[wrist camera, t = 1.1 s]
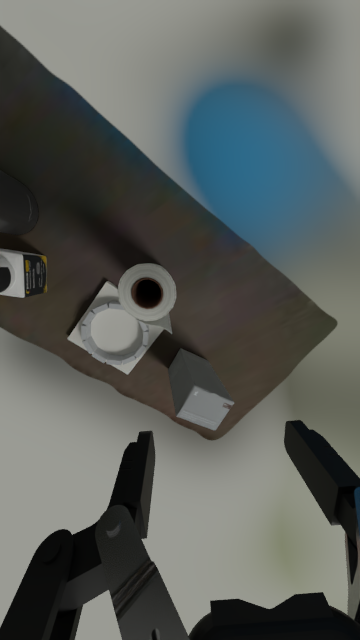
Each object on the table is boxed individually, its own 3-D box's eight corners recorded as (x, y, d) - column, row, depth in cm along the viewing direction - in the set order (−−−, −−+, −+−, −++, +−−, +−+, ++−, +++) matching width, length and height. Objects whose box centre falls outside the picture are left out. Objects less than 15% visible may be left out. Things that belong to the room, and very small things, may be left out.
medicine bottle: (47, 292, 39) (-1, 304, 27) (8, 286, 38) (-58, 296, 26) (47, 255, 37) (-5, 251, 25) (6, 249, 36) (-67, 241, 24)
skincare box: (167, 368, 46) (170, 419, 31) (182, 344, 45) (192, 384, 29) (197, 381, 48) (213, 436, 33) (212, 358, 46) (236, 404, 31)
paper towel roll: (140, 262, 39) (117, 259, 18) (170, 265, 39) (180, 267, 19) (138, 297, 41) (115, 330, 20) (166, 300, 41) (172, 334, 21)
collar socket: (70, 336, 42) (61, 343, 38) (108, 280, 39) (102, 282, 35) (128, 371, 45) (125, 381, 41) (167, 322, 43) (167, 328, 39)
